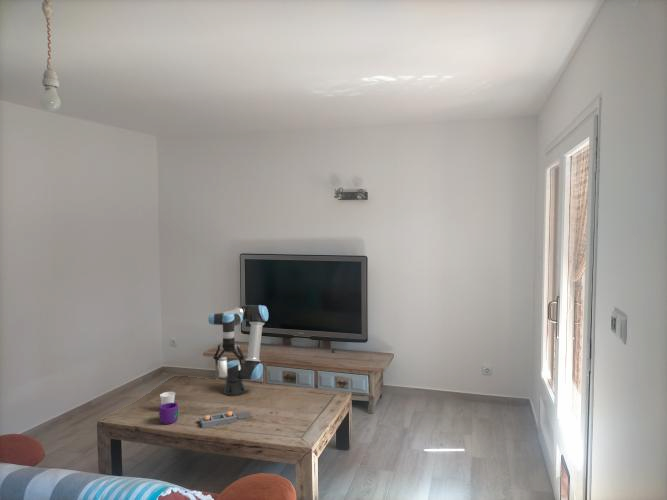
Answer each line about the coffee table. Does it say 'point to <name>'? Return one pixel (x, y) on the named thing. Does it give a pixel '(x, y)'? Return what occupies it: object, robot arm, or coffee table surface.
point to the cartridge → (223, 366)
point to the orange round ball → (206, 417)
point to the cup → (167, 397)
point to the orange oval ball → (229, 414)
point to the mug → (168, 413)
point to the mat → (243, 415)
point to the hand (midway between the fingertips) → (229, 369)
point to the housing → (218, 419)
